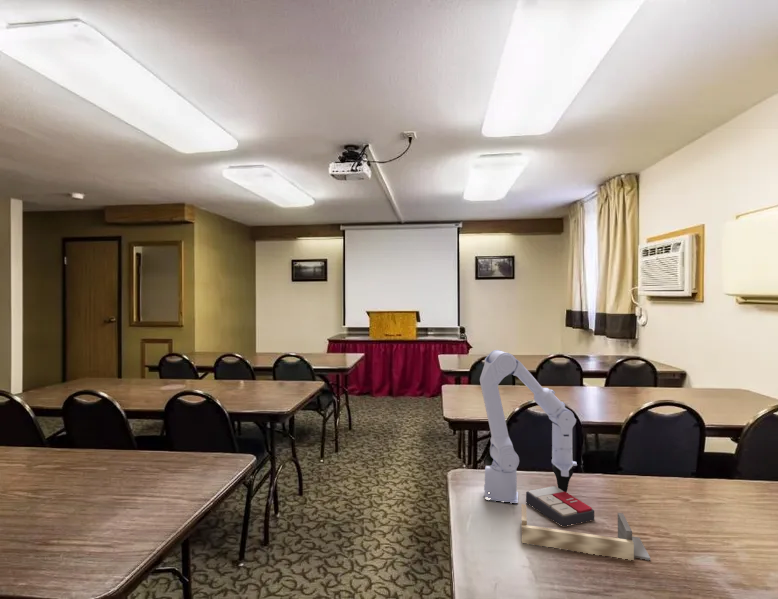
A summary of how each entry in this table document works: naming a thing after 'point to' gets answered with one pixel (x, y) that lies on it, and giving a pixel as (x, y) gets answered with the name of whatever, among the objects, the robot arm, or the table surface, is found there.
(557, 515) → the calculator
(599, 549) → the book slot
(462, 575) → the table surface
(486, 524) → the table surface
